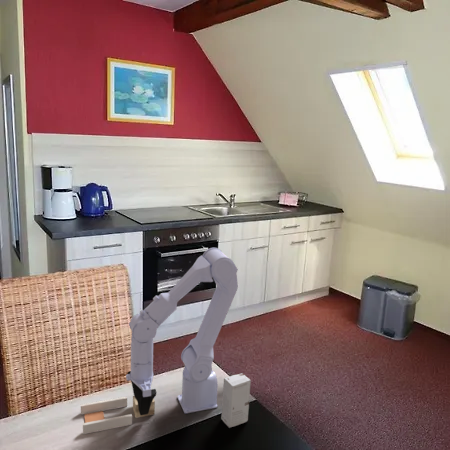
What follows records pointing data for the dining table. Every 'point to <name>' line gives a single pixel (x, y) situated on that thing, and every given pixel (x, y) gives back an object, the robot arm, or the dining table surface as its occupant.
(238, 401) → the skincare box
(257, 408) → the dining table surface
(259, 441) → the dining table surface
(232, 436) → the dining table surface
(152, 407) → the block
